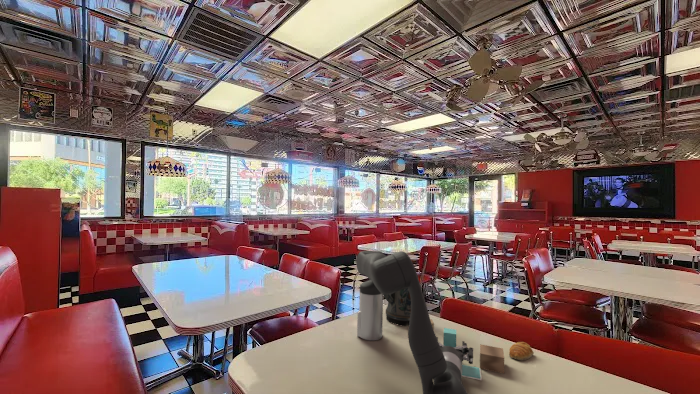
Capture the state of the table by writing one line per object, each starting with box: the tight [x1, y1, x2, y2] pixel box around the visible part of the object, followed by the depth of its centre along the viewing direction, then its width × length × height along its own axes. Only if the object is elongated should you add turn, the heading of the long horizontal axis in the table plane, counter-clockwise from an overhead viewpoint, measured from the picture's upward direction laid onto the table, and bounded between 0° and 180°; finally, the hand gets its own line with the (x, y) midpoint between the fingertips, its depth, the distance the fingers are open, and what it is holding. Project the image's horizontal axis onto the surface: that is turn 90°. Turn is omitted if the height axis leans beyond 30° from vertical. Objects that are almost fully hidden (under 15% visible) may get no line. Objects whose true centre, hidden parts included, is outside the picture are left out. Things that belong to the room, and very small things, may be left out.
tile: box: [461, 364, 483, 381], centre depth 96 cm, size 7×7×1 cm
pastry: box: [509, 341, 535, 361], centre depth 108 cm, size 9×7×4 cm
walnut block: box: [479, 343, 505, 375], centre depth 101 cm, size 7×7×5 cm
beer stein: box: [383, 288, 411, 327], centre depth 139 cm, size 16×19×25 cm
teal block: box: [442, 327, 457, 347], centre depth 103 cm, size 4×4×10 cm
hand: (449, 341), depth 104 cm, fingers open, 8 cm apart
